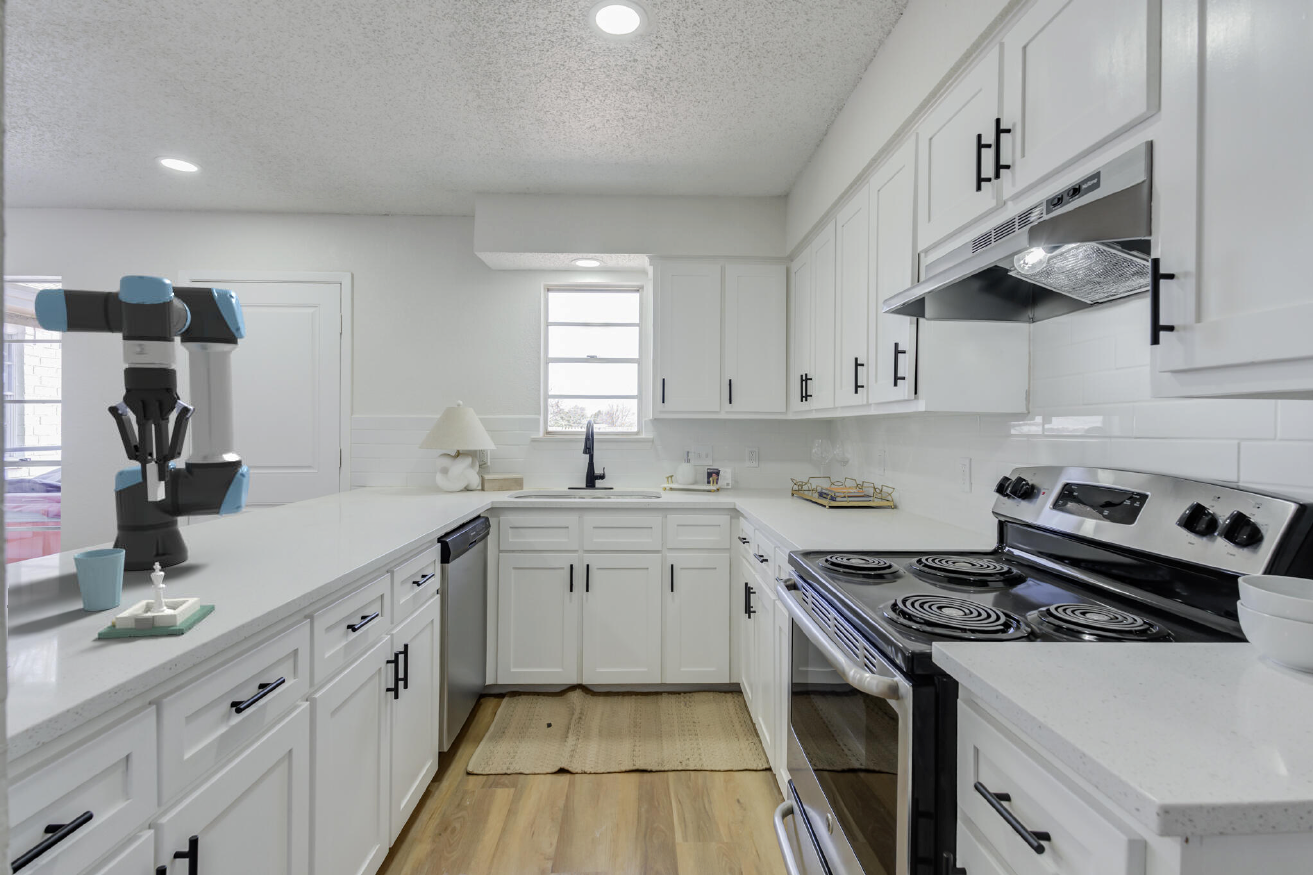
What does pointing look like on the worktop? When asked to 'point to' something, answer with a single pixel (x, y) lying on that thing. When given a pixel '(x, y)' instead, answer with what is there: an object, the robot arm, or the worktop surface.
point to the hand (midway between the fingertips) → (156, 499)
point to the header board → (157, 619)
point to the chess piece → (158, 591)
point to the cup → (100, 578)
